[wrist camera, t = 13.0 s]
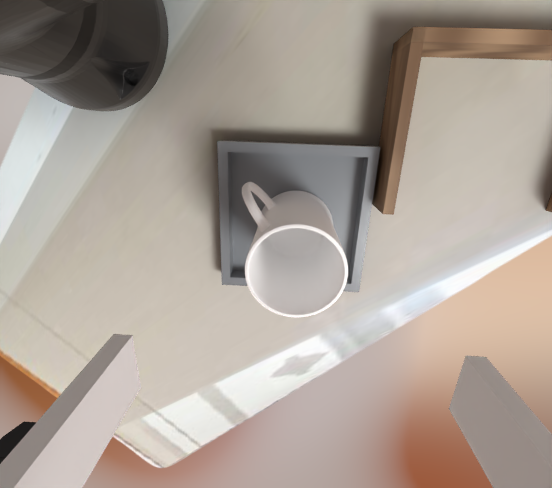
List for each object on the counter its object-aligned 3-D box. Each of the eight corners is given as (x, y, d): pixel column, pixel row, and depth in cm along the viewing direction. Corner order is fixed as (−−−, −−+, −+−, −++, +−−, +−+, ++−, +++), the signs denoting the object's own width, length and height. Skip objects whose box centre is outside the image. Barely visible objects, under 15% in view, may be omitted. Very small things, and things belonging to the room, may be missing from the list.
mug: (227, 190, 34) (194, 220, 22) (293, 148, 32) (294, 158, 20) (282, 273, 37) (277, 336, 26) (345, 239, 35) (370, 291, 24)
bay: (370, 202, 34) (383, 214, 29) (393, 43, 29) (413, 26, 24) (555, 210, 33) (598, 223, 29) (614, 49, 28) (679, 32, 23)
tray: (226, 275, 38) (221, 284, 36) (222, 140, 32) (217, 141, 30) (354, 281, 37) (359, 292, 35) (374, 146, 32) (380, 147, 29)
